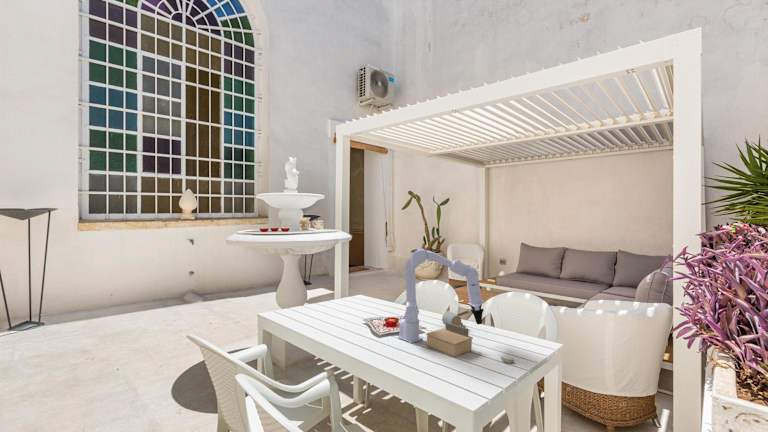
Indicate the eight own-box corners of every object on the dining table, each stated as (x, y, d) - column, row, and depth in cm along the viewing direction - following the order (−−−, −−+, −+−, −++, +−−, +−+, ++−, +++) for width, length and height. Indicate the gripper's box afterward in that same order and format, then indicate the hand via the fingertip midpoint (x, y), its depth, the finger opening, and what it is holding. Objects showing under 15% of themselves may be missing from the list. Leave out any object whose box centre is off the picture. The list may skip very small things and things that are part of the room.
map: (502, 364, 146) (502, 362, 146) (496, 346, 167) (496, 344, 167) (515, 365, 146) (515, 363, 146) (508, 347, 166) (508, 345, 166)
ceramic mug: (452, 330, 188) (452, 315, 188) (441, 325, 195) (442, 311, 195) (466, 327, 194) (467, 313, 194) (455, 323, 201) (456, 309, 201)
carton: (426, 346, 165) (427, 335, 165) (443, 340, 172) (444, 330, 172) (454, 357, 152) (454, 345, 152) (471, 350, 160) (471, 339, 160)
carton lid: (426, 334, 165) (426, 326, 165) (443, 329, 173) (444, 321, 173) (454, 345, 152) (455, 336, 152) (472, 338, 160) (472, 330, 160)
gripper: (484, 295, 161) (489, 325, 161) (481, 288, 175) (486, 316, 175) (468, 297, 162) (473, 326, 162) (467, 290, 176) (471, 317, 176)
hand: (478, 321), depth 168 cm, fingers open, 7 cm apart
